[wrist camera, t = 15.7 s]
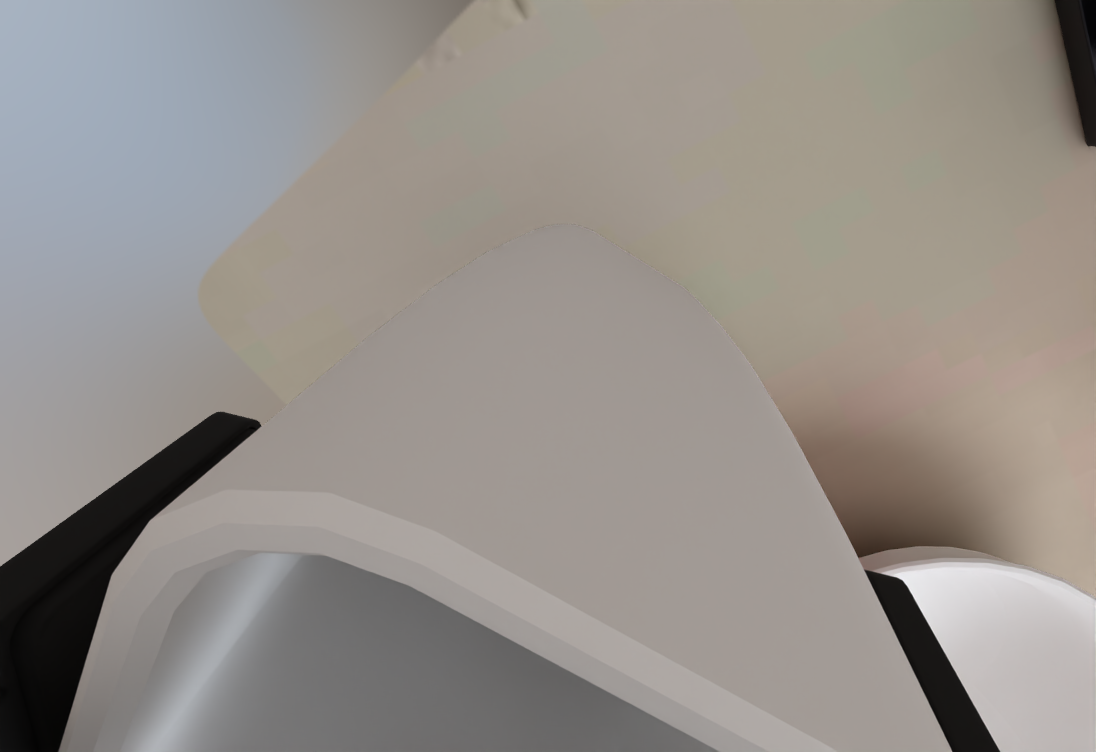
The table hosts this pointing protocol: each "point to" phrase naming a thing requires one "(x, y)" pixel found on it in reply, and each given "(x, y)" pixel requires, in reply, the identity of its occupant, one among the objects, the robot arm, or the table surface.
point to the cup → (508, 548)
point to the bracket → (1081, 57)
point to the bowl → (1009, 642)
